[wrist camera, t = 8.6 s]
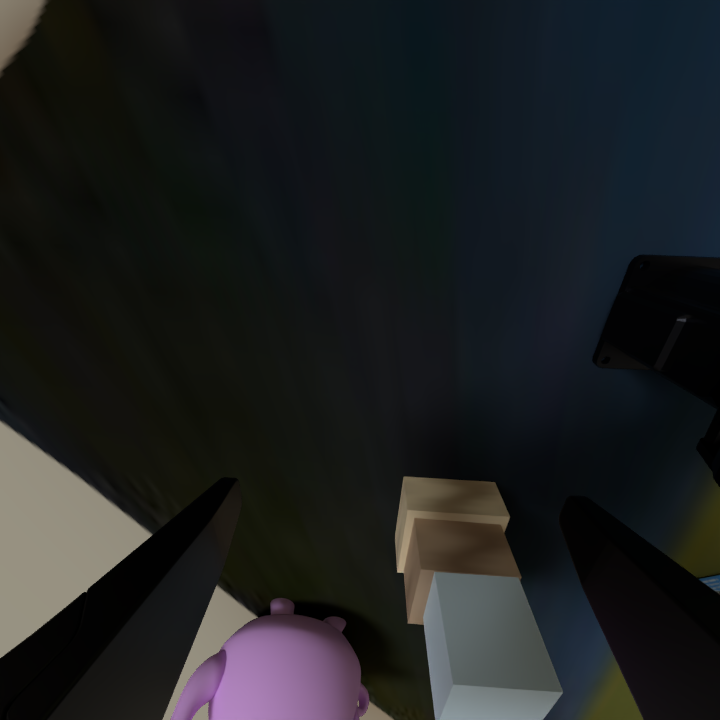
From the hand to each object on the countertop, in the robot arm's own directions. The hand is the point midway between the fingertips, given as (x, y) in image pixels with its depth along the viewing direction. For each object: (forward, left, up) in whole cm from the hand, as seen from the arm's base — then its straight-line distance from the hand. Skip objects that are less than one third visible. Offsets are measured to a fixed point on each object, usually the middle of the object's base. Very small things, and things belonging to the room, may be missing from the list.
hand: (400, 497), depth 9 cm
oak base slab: (-6, +15, -12) cm, 20 cm away
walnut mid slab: (-6, +15, -9) cm, 19 cm away
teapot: (+8, +34, -12) cm, 37 cm away
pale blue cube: (-6, +15, -6) cm, 17 cm away
